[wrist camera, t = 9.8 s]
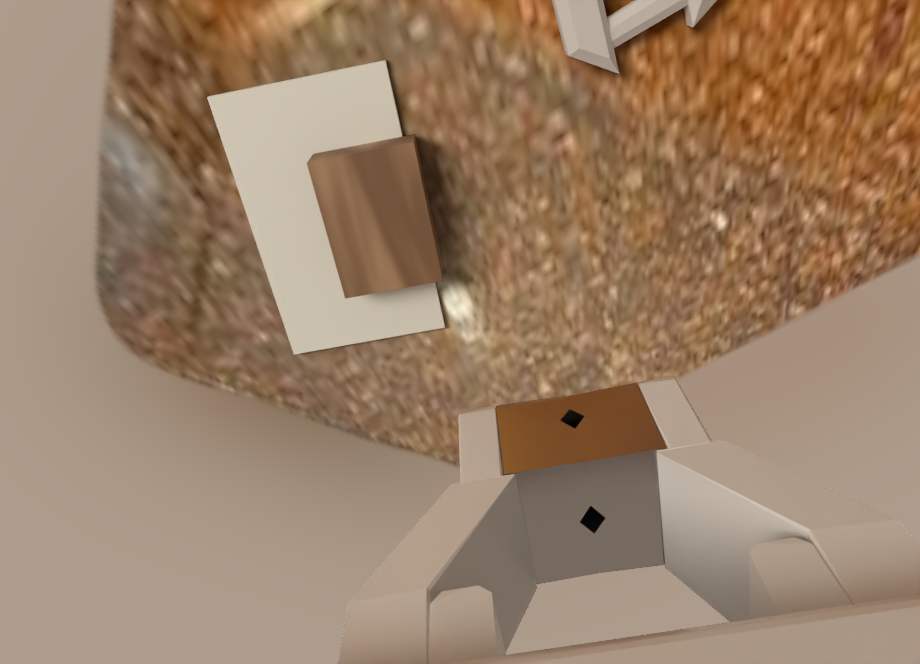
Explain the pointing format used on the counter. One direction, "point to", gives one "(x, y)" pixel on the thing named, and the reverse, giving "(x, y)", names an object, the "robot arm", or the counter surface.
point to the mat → (314, 200)
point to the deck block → (377, 216)
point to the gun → (614, 25)
